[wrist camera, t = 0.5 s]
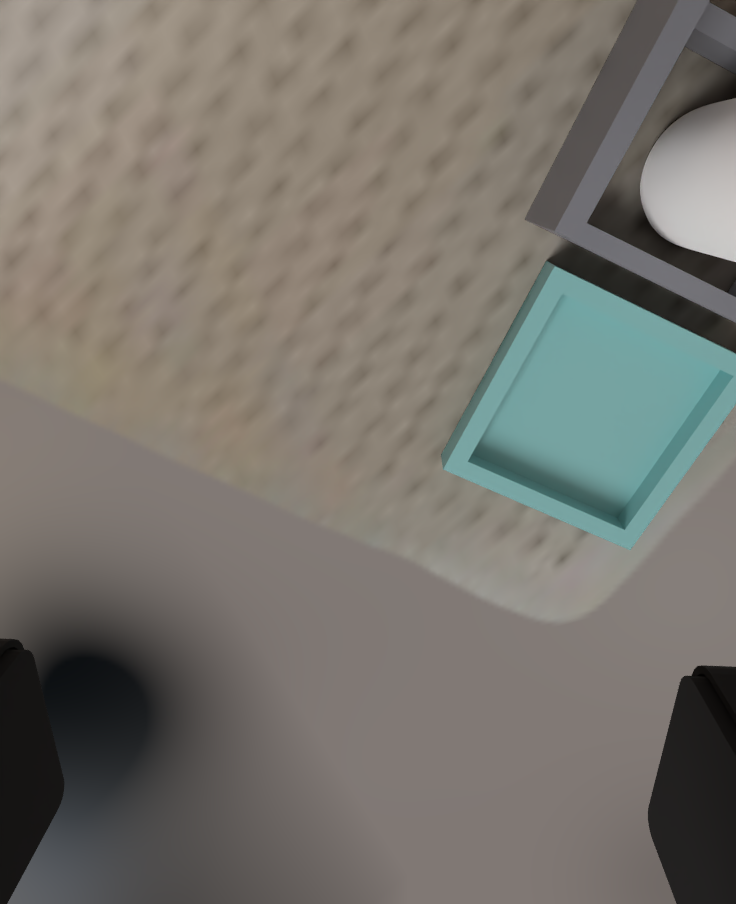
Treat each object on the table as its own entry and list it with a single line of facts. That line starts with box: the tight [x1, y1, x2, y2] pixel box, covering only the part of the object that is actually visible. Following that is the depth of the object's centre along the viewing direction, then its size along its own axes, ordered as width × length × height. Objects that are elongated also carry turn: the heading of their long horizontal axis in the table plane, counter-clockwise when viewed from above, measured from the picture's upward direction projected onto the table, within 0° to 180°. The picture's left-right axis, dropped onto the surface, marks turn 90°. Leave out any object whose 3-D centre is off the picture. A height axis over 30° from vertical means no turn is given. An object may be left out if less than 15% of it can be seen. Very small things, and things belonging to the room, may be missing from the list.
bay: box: [525, 0, 736, 323], centre depth 28 cm, size 10×12×7 cm
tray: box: [441, 261, 736, 550], centre depth 36 cm, size 12×12×2 cm
